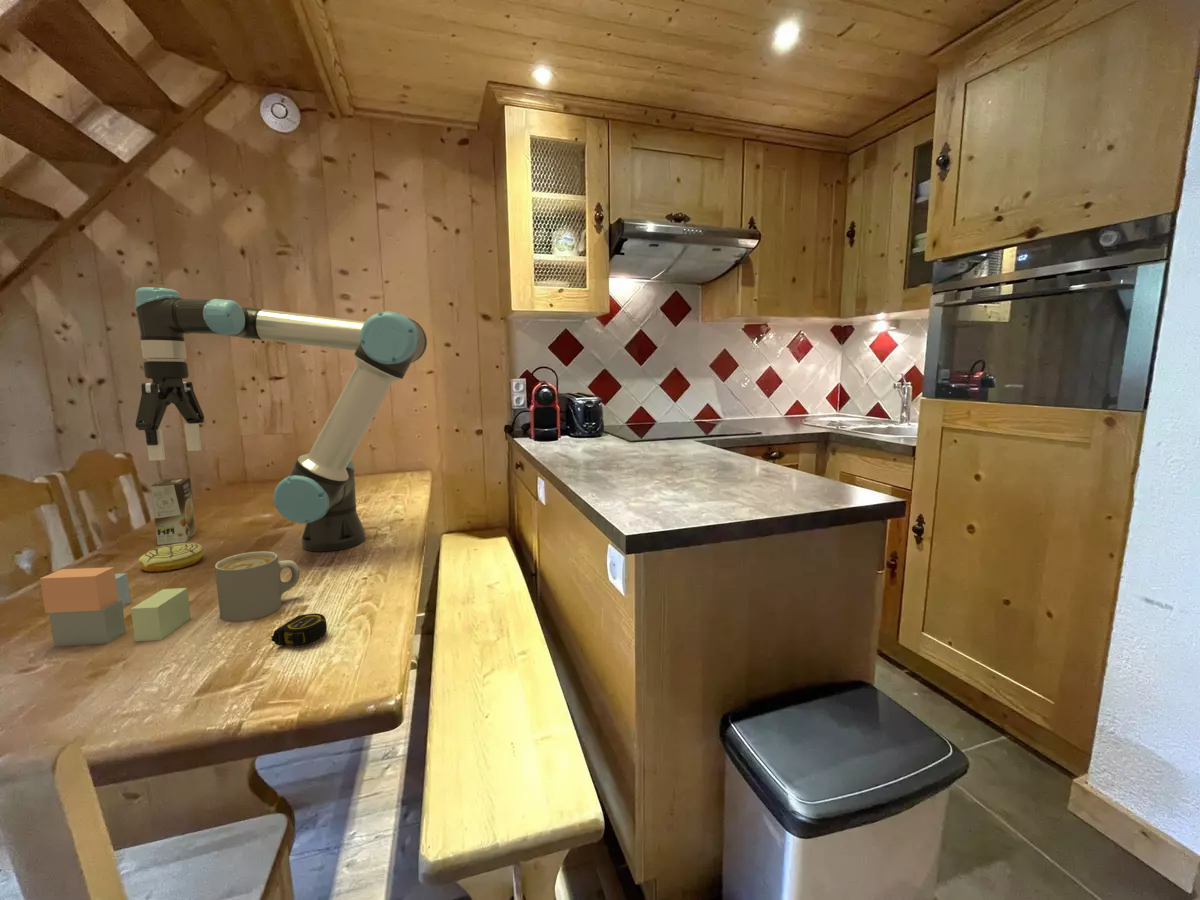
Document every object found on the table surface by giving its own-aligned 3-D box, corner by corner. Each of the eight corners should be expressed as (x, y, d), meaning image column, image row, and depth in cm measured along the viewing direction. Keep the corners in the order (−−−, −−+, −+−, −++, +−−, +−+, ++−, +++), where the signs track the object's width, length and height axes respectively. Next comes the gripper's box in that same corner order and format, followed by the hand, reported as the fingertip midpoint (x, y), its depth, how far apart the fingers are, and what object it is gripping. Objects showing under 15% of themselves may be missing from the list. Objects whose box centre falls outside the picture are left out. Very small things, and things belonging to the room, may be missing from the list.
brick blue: (131, 601, 103) (127, 573, 102) (115, 611, 99) (111, 581, 98) (85, 604, 102) (81, 575, 101) (68, 613, 98) (63, 583, 97)
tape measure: (302, 629, 93) (300, 609, 92) (336, 633, 92) (334, 613, 91) (272, 649, 86) (269, 628, 86) (308, 653, 85) (306, 632, 85)
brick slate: (125, 631, 91) (121, 599, 90) (108, 643, 87) (103, 609, 87) (74, 634, 90) (69, 602, 89) (54, 646, 86) (48, 612, 85)
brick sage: (167, 619, 96) (163, 589, 95) (190, 618, 97) (187, 588, 96) (135, 641, 88) (130, 608, 87) (161, 640, 89) (157, 607, 88)
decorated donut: (142, 563, 124) (140, 546, 123) (203, 553, 131) (201, 537, 130) (139, 578, 115) (136, 560, 114) (204, 566, 122) (203, 549, 122)
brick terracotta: (118, 600, 90) (113, 567, 89) (99, 610, 86) (95, 576, 85) (66, 602, 89) (61, 569, 88) (45, 613, 85) (39, 578, 84)
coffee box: (187, 542, 138) (180, 483, 136) (156, 545, 135) (149, 485, 133) (196, 532, 146) (190, 477, 144) (168, 535, 144) (161, 478, 141)
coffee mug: (218, 626, 93) (212, 574, 92) (222, 605, 102) (217, 557, 100) (303, 609, 100) (299, 560, 99) (300, 590, 109) (296, 545, 107)
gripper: (181, 361, 126) (191, 447, 130) (103, 359, 102) (118, 465, 105) (215, 361, 128) (224, 446, 131) (146, 359, 103) (159, 464, 107)
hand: (177, 455), depth 118 cm, fingers open, 13 cm apart
